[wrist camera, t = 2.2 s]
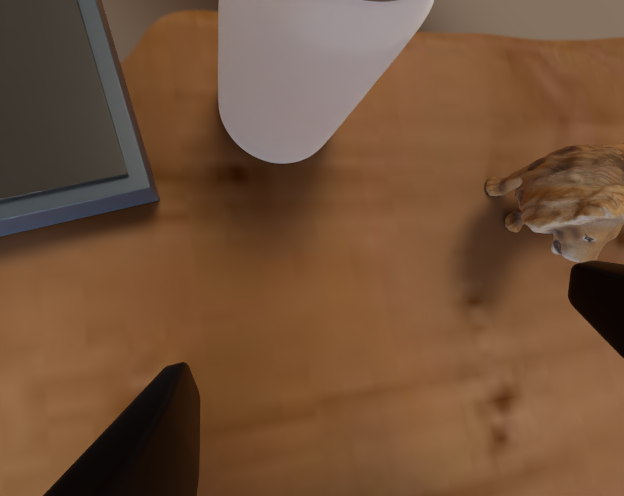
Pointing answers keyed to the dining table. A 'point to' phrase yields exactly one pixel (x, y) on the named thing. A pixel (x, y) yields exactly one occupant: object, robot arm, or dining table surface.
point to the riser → (65, 118)
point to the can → (303, 67)
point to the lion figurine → (569, 198)
